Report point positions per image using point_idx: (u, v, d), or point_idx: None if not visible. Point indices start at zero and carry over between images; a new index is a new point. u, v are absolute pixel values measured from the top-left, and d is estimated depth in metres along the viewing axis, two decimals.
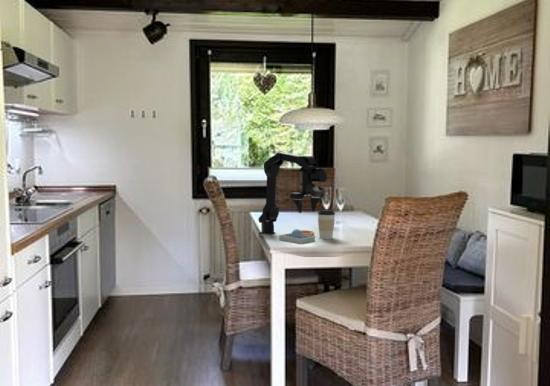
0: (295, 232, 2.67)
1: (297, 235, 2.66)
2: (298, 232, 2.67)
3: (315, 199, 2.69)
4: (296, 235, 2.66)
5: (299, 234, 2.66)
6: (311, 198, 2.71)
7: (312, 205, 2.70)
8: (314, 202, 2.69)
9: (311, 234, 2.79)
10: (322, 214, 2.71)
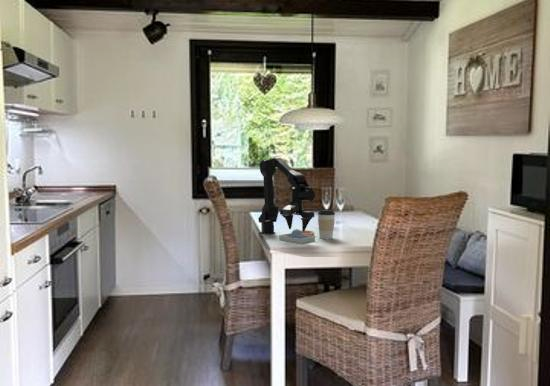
0: (295, 232, 2.67)
1: (297, 235, 2.66)
2: (298, 232, 2.67)
3: None
4: (296, 235, 2.66)
5: (299, 234, 2.66)
6: None
7: None
8: None
9: (311, 234, 2.79)
10: (322, 214, 2.71)
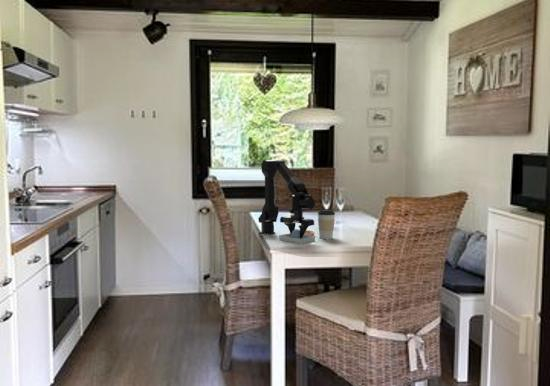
0: (295, 232, 2.67)
1: (297, 235, 2.66)
2: (298, 232, 2.67)
3: None
4: (296, 235, 2.66)
5: (299, 234, 2.66)
6: None
7: None
8: None
9: (311, 234, 2.79)
10: (322, 214, 2.71)
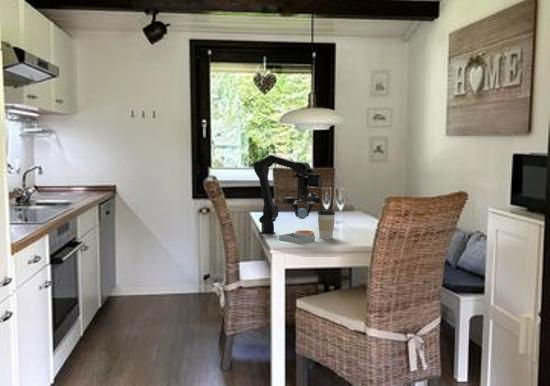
0: (305, 211, 2.75)
1: (307, 213, 2.75)
2: (306, 210, 2.76)
3: (309, 204, 2.76)
4: (306, 213, 2.75)
5: None
6: (307, 203, 2.79)
7: (307, 210, 2.78)
8: (308, 207, 2.77)
9: (311, 234, 2.79)
10: (322, 214, 2.71)
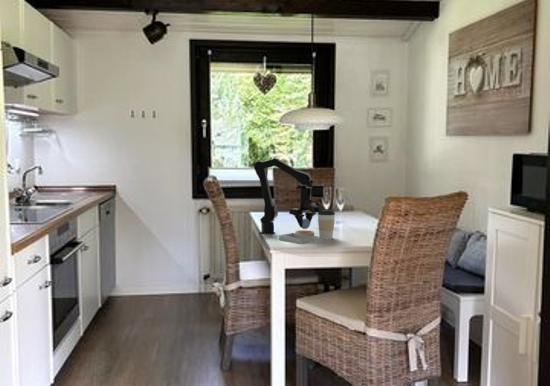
0: (308, 221, 2.81)
1: (309, 223, 2.82)
2: None
3: (310, 214, 2.83)
4: (309, 223, 2.82)
5: None
6: (306, 213, 2.85)
7: None
8: (309, 217, 2.84)
9: (311, 234, 2.79)
10: (322, 214, 2.71)
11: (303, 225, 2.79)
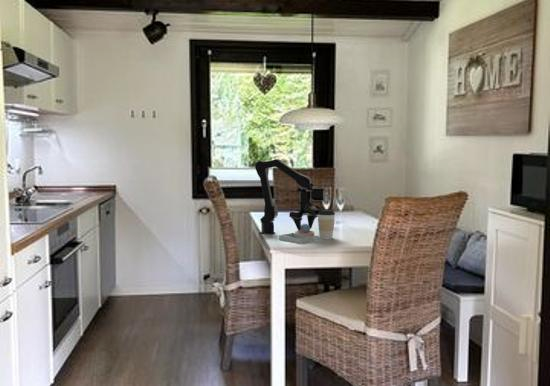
0: (308, 226, 2.81)
1: (309, 228, 2.82)
2: None
3: (312, 217, 2.84)
4: (309, 228, 2.82)
5: None
6: (308, 216, 2.86)
7: (309, 223, 2.86)
8: (311, 220, 2.85)
9: (311, 234, 2.79)
10: (322, 214, 2.71)
11: (303, 230, 2.80)
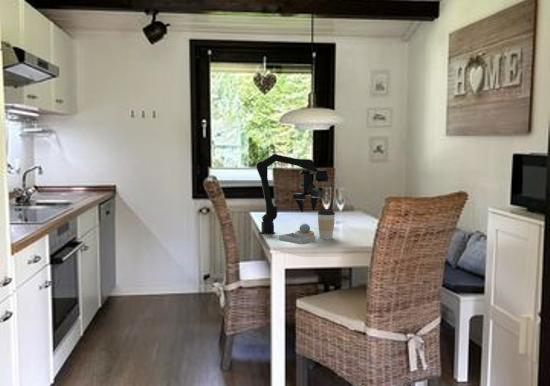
0: (308, 226, 2.81)
1: (309, 228, 2.82)
2: None
3: (315, 199, 2.91)
4: (309, 228, 2.82)
5: None
6: (311, 198, 2.93)
7: (312, 204, 2.92)
8: (314, 202, 2.91)
9: (311, 234, 2.79)
10: (322, 214, 2.71)
11: (303, 230, 2.80)
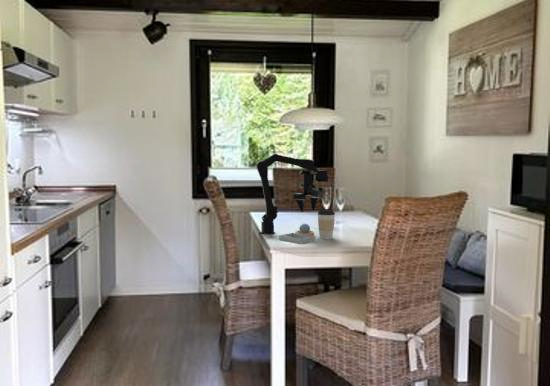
0: (308, 226, 2.81)
1: (309, 228, 2.82)
2: None
3: (315, 199, 2.91)
4: (309, 228, 2.82)
5: None
6: (311, 198, 2.93)
7: (312, 205, 2.93)
8: (314, 202, 2.92)
9: (311, 234, 2.79)
10: (322, 214, 2.71)
11: (303, 230, 2.80)
